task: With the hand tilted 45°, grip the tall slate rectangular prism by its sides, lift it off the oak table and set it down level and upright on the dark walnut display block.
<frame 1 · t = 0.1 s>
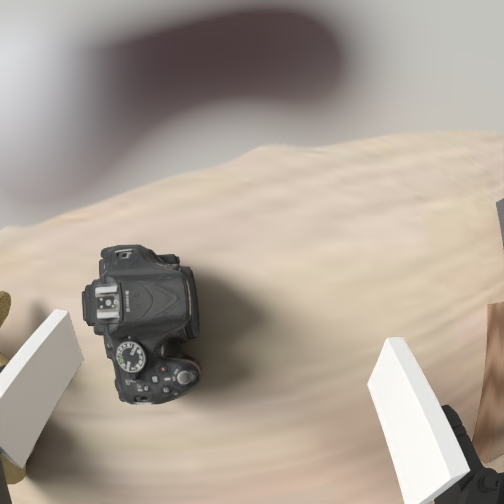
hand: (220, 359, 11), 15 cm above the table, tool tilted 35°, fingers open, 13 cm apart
camera: (162, 319, 26), on the table
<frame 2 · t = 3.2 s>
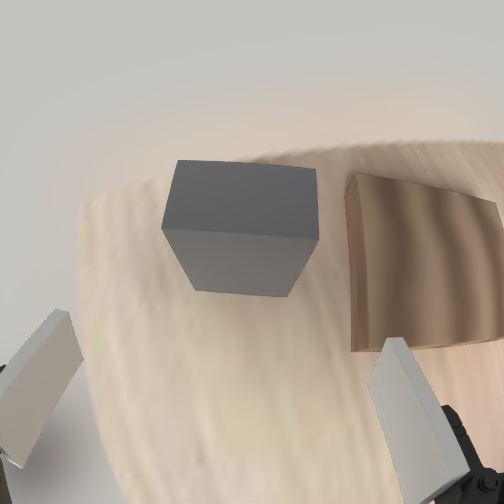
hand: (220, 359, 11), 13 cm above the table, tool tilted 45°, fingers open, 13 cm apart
tall slate rectangular prism: (242, 269, 27), on the table
display block: (433, 272, 27), on the table
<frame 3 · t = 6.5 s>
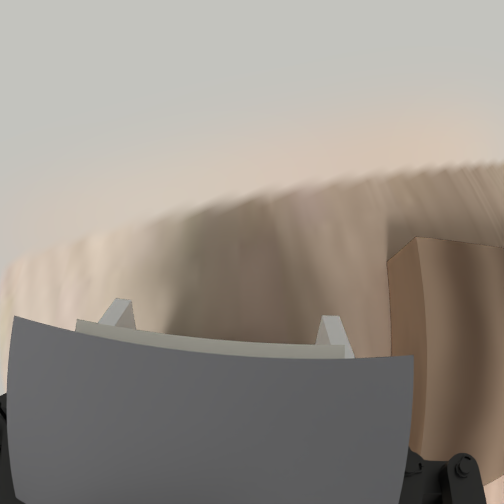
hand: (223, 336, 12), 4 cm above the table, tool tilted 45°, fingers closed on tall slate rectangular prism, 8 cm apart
tall slate rectangular prism: (223, 401, 15), on the table, touching gripper
display block: (493, 366, 15), on the table
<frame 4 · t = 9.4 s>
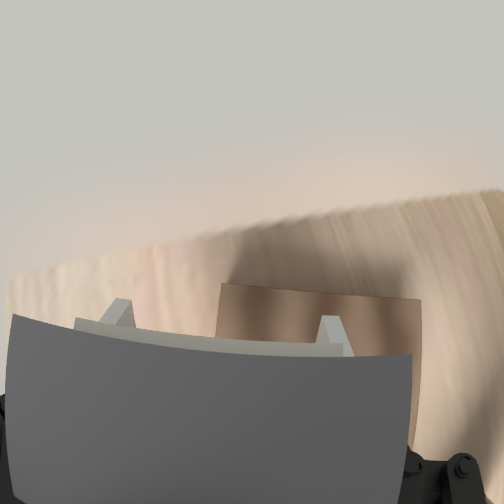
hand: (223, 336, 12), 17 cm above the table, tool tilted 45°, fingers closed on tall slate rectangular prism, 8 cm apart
tall slate rectangular prism: (223, 401, 15), point 12 cm above the table, touching gripper
display block: (315, 379, 27), on the table
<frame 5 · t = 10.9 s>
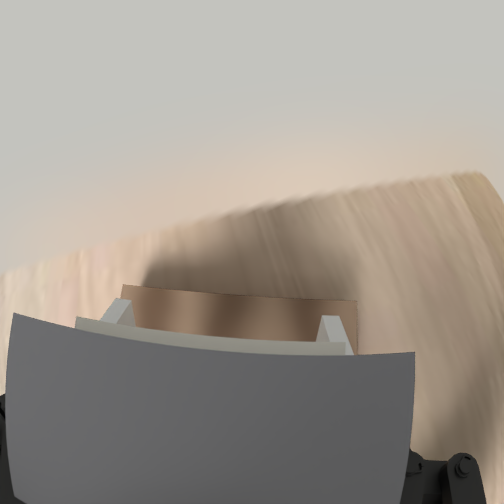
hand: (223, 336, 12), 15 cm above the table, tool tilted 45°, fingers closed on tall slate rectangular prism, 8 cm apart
tall slate rectangular prism: (223, 401, 15), point 10 cm above the table, touching gripper
display block: (232, 390, 24), on the table
when the fingers open (9 cm above the table, at t = 12.4 s): tall slate rectangular prism stays where it is, resting on display block.
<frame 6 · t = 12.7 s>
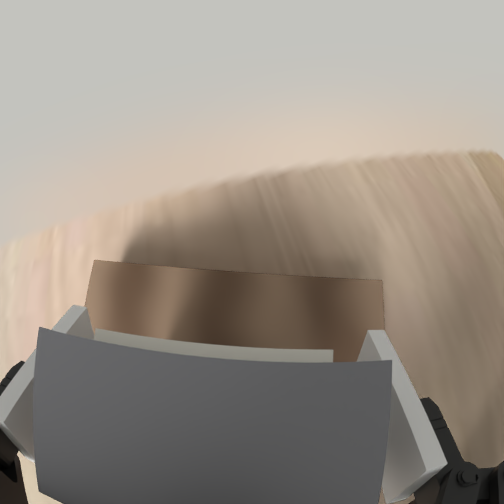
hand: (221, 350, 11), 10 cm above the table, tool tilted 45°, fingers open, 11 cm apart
tall slate rectangular prism: (225, 400, 16), point 4 cm above the table, touching display block
display block: (227, 394, 19), on the table
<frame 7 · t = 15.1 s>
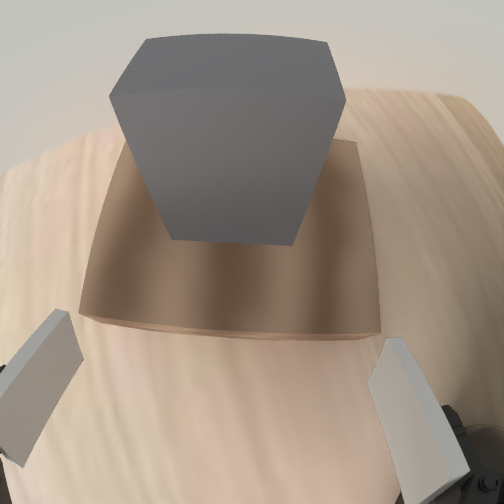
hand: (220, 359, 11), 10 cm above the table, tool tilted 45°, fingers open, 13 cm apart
tall slate rectangular prism: (233, 212, 20), point 4 cm above the table, touching display block
display block: (234, 237, 24), on the table
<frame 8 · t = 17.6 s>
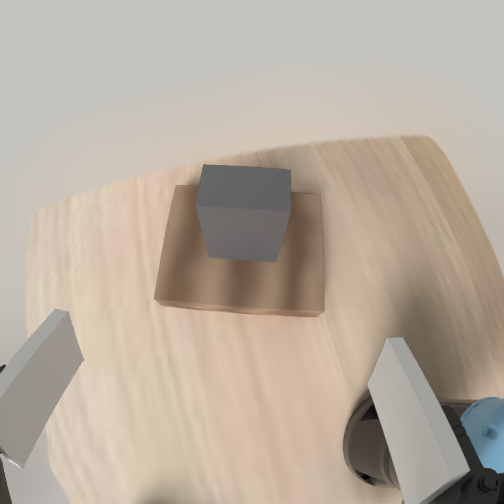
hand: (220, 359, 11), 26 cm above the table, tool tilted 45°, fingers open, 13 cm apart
tall slate rectangular prism: (243, 242, 36), point 4 cm above the table, touching display block
display block: (243, 254, 40), on the table
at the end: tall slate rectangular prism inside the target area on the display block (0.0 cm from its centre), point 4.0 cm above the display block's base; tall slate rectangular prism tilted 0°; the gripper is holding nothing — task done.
